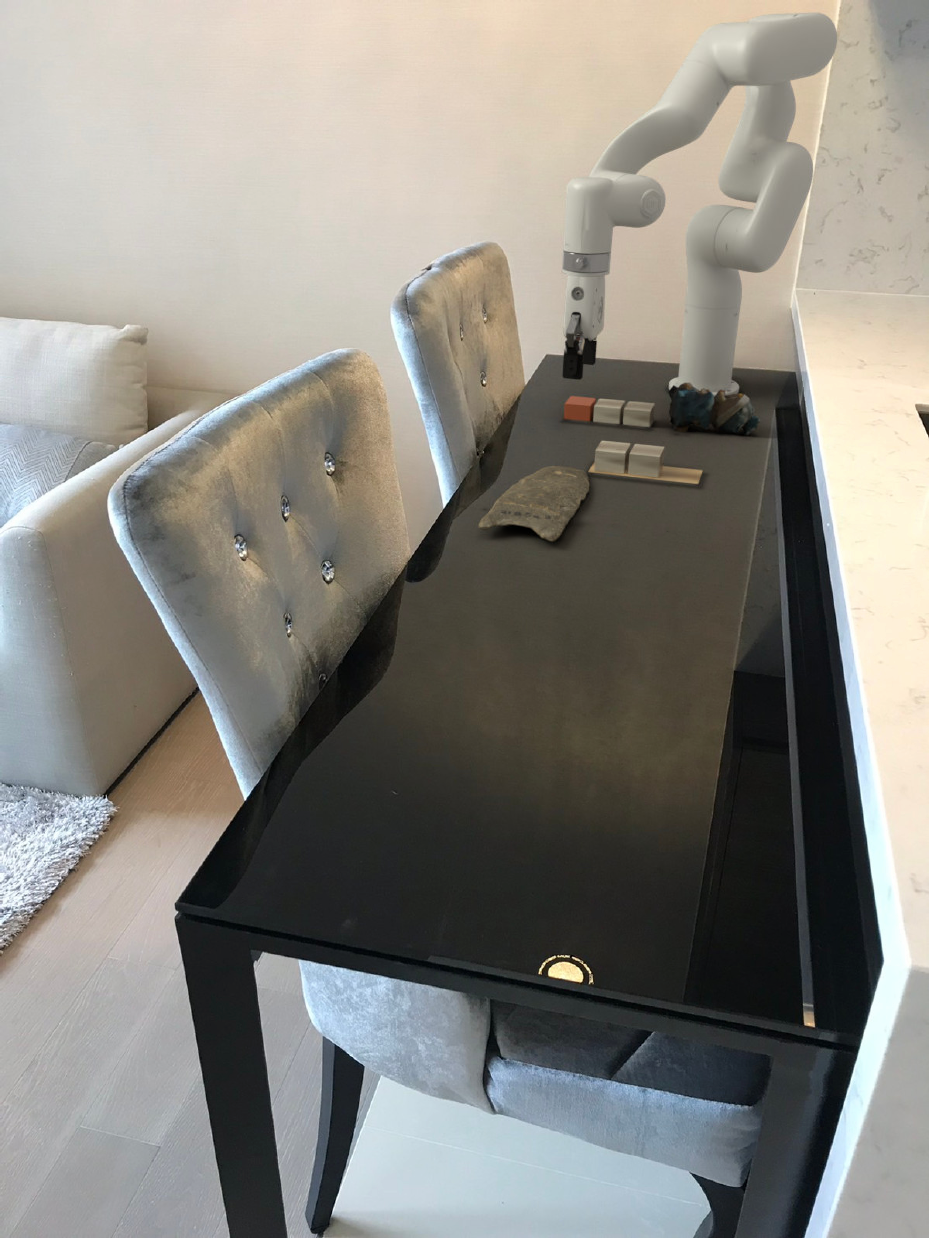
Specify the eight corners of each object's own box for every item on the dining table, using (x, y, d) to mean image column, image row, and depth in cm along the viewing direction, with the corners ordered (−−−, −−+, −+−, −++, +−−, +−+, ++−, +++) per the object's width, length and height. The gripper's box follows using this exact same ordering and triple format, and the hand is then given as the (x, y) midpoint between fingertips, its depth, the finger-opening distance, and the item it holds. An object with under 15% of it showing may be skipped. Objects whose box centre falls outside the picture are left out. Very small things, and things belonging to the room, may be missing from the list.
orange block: (569, 414, 172) (570, 395, 171) (595, 416, 171) (596, 398, 169) (563, 421, 169) (564, 403, 167) (589, 424, 167) (590, 405, 166)
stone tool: (558, 550, 125) (601, 480, 146) (558, 529, 124) (602, 461, 144) (475, 539, 128) (529, 472, 149) (475, 518, 127) (529, 454, 147)
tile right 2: (633, 464, 149) (634, 443, 148) (662, 467, 148) (664, 446, 147) (627, 474, 146) (629, 453, 144) (658, 477, 145) (660, 456, 143)
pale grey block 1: (600, 460, 151) (601, 440, 149) (629, 463, 150) (630, 443, 148) (594, 470, 147) (595, 450, 146) (623, 474, 146) (625, 453, 144)
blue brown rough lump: (675, 383, 167) (767, 382, 161) (672, 433, 169) (763, 434, 163) (661, 382, 160) (756, 381, 153) (658, 434, 162) (753, 436, 155)
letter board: (595, 462, 152) (596, 458, 152) (702, 474, 147) (703, 470, 147) (587, 475, 147) (588, 471, 147) (697, 487, 143) (698, 483, 142)
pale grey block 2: (627, 419, 169) (628, 401, 168) (653, 421, 168) (655, 403, 167) (622, 427, 166) (623, 408, 164) (649, 430, 165) (650, 411, 163)
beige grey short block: (598, 416, 171) (599, 398, 169) (624, 419, 170) (625, 400, 168) (593, 424, 167) (594, 406, 166) (619, 427, 166) (620, 408, 164)
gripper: (598, 273, 149) (590, 387, 157) (620, 256, 163) (611, 360, 172) (549, 270, 151) (543, 382, 159) (575, 253, 165) (569, 356, 174)
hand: (579, 371), depth 165 cm, fingers open, 9 cm apart
